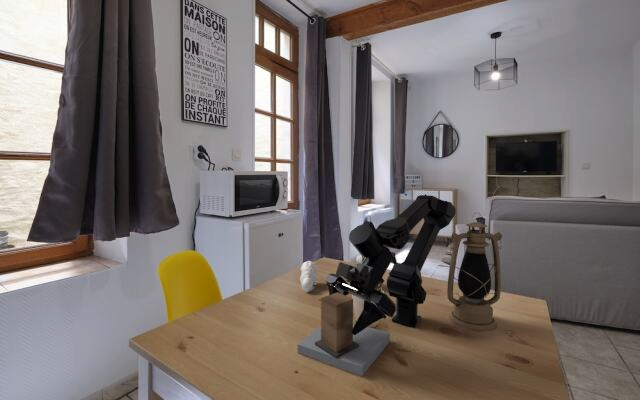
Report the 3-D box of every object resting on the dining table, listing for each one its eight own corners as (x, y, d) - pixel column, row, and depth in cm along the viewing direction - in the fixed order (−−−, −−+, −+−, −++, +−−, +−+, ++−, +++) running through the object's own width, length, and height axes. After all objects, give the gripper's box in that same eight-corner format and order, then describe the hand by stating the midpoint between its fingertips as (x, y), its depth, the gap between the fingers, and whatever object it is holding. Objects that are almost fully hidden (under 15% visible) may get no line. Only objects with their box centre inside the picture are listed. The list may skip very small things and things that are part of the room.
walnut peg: (337, 342, 77) (337, 290, 76) (359, 355, 72) (359, 299, 70) (314, 353, 72) (314, 297, 71) (335, 367, 67) (336, 307, 66)
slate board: (332, 324, 86) (332, 317, 86) (389, 341, 78) (390, 333, 78) (297, 352, 73) (297, 344, 73) (362, 376, 64) (362, 367, 64)
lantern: (486, 310, 94) (491, 209, 92) (511, 330, 83) (518, 215, 80) (438, 311, 94) (441, 209, 92) (456, 331, 82) (460, 215, 80)
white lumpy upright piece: (317, 259, 118) (316, 272, 106) (318, 280, 120) (316, 296, 108) (300, 259, 118) (297, 272, 107) (301, 280, 120) (297, 296, 108)
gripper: (330, 241, 81) (294, 294, 75) (388, 257, 66) (348, 324, 60) (353, 266, 86) (320, 317, 81) (410, 285, 71) (376, 350, 66)
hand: (338, 325), depth 72 cm, fingers open, 9 cm apart
